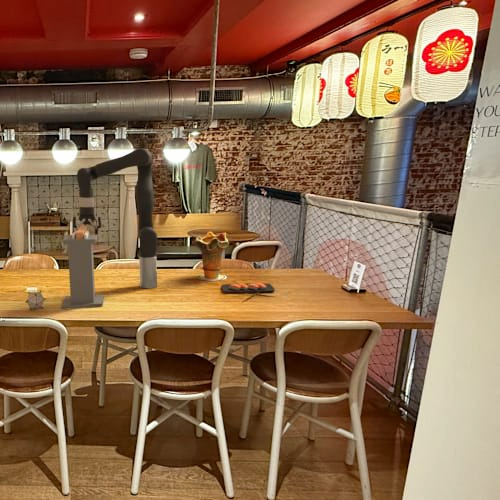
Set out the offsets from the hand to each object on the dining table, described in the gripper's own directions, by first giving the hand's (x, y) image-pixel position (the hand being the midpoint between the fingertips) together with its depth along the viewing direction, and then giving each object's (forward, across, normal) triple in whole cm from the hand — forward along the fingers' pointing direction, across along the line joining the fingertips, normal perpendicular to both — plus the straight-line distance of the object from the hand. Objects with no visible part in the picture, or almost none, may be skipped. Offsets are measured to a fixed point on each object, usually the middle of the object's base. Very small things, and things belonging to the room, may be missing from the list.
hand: (87, 235), depth 225 cm
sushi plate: (+28, -85, +29) cm, 94 cm away
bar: (-4, 0, +24) cm, 24 cm away
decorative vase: (+27, -70, -8) cm, 76 cm away
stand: (+28, -1, +30) cm, 41 cm away
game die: (+29, +19, +36) cm, 50 cm away
